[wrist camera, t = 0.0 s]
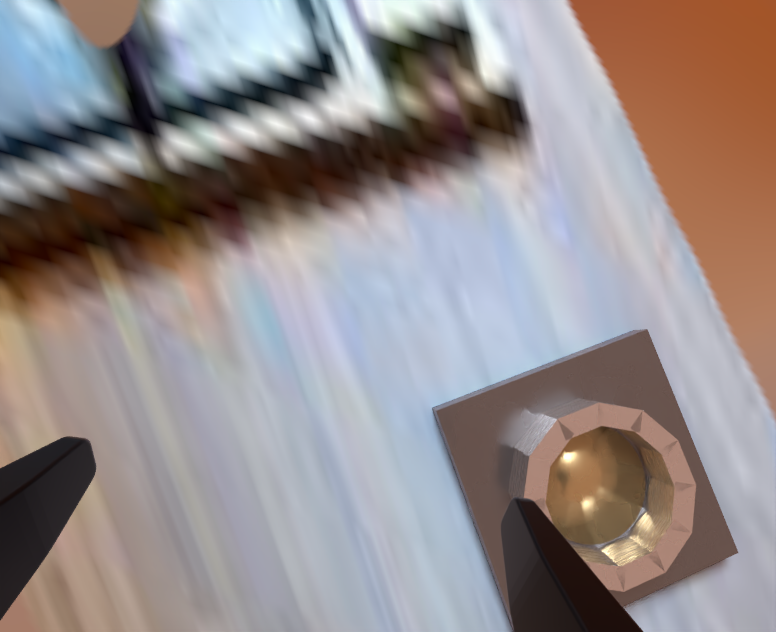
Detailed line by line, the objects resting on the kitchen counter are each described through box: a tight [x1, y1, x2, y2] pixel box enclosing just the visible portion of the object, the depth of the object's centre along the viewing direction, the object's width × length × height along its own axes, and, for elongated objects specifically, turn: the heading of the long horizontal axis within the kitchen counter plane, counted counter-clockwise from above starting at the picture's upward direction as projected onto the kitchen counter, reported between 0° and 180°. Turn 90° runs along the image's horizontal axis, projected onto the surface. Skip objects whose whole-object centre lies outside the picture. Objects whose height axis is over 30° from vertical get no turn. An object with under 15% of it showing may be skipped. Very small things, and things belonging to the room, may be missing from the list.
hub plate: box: [432, 329, 738, 631], centre depth 22 cm, size 14×14×3 cm
